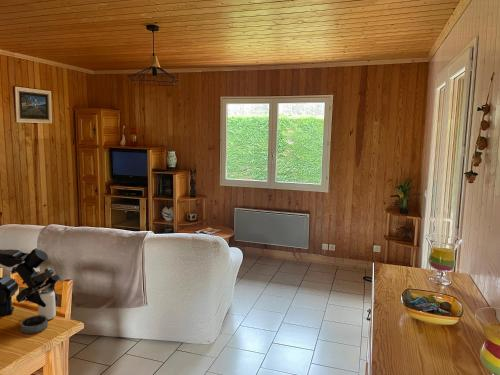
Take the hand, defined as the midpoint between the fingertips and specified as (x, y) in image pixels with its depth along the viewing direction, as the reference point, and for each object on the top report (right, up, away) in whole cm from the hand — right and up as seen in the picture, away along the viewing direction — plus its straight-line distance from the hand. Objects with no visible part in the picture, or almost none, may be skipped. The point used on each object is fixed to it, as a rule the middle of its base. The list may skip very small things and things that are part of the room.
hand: (50, 303), depth 158 cm
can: (-2, -7, +1) cm, 7 cm away
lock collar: (-3, -8, -7) cm, 11 cm away
